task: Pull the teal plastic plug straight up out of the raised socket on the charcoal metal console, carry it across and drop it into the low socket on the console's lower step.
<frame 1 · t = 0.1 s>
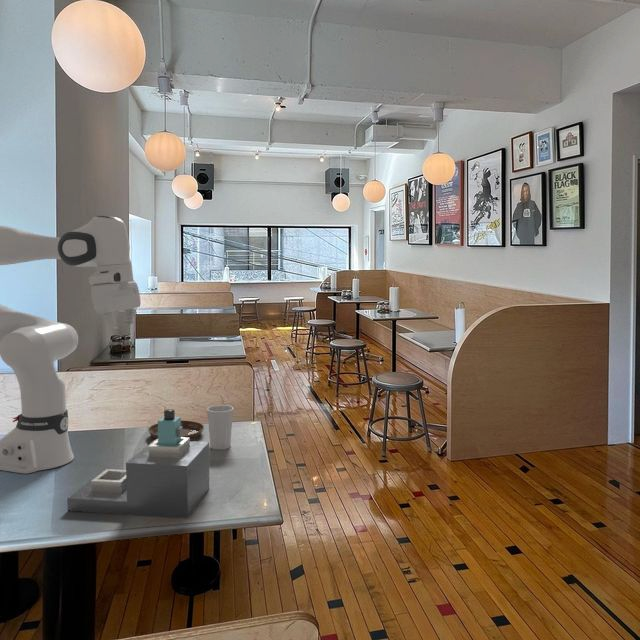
hand: (121, 327, 144), 39 cm above the table, tool pointing down, fingers open, 8 cm apart
cup: (220, 446, 165), on the table
plug: (169, 451, 125), point 12 cm above the table, touching console
plant saucer: (176, 437, 174), on the table
console: (142, 499, 127), on the table
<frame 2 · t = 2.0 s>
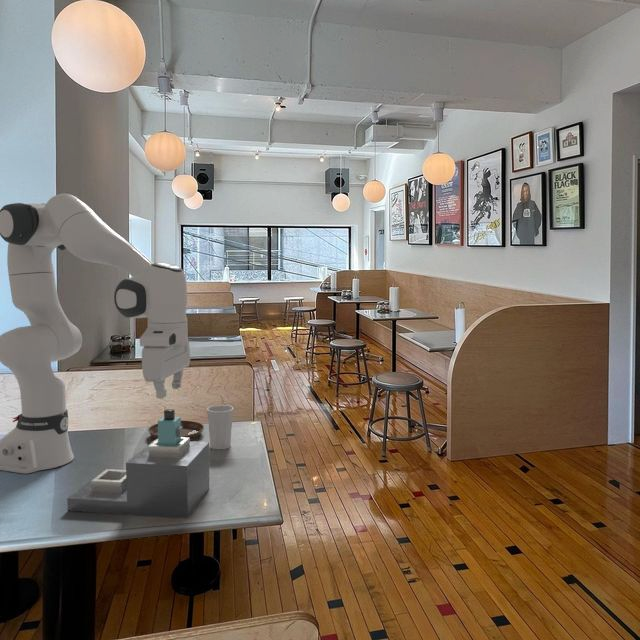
hand: (169, 392, 123), 26 cm above the table, tool pointing down, fingers open, 8 cm apart
nothing on the table moved.
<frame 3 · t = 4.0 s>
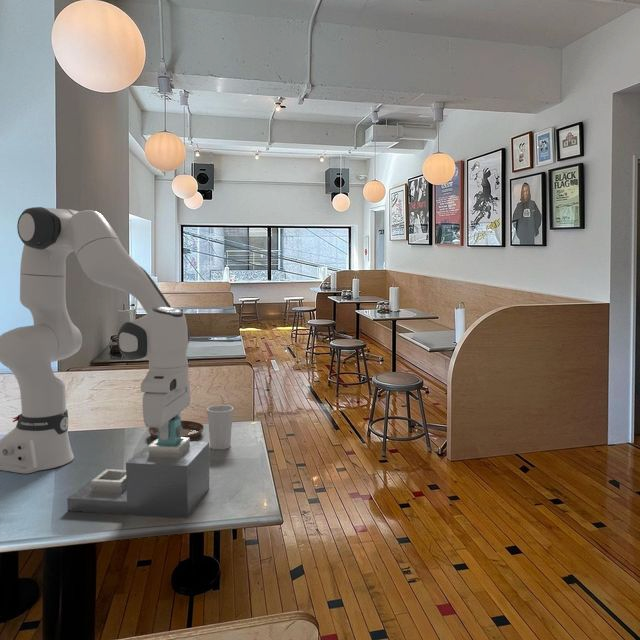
hand: (169, 435, 125), 16 cm above the table, tool pointing down, fingers closed on plug, 4 cm apart
plug: (169, 451, 125), point 12 cm above the table, touching console, gripper
everything else where it was.
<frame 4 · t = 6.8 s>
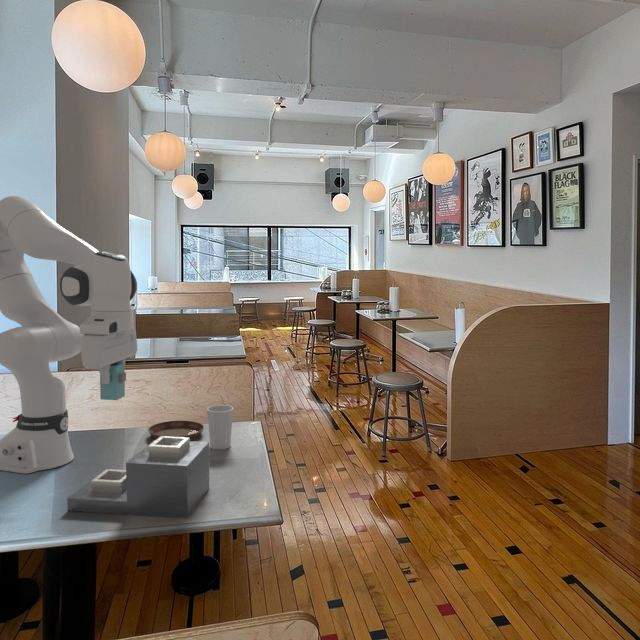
hand: (112, 380, 125), 29 cm above the table, tool pointing down, fingers closed on plug, 4 cm apart
plug: (112, 397, 125), point 24 cm above the table, touching gripper
everything else where it was.
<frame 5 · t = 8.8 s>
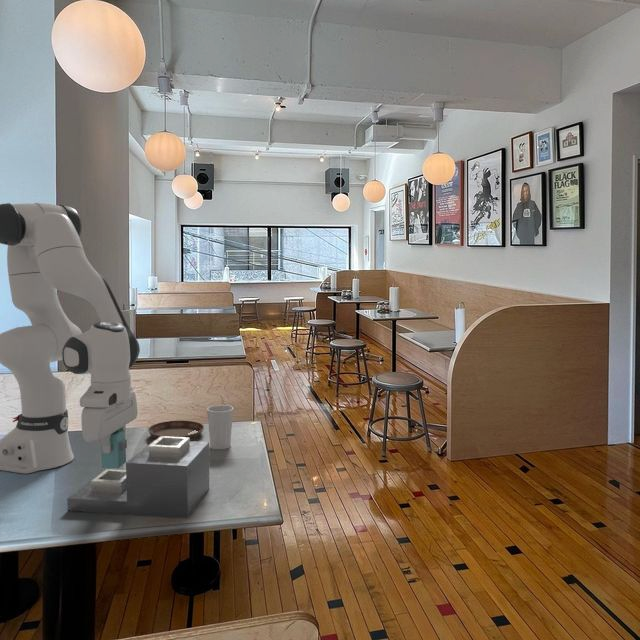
hand: (113, 448, 126), 12 cm above the table, tool pointing down, fingers closed on plug, 4 cm apart
plug: (114, 464, 126), point 8 cm above the table, touching gripper
everything else where it was.
when the fingers open (8 cm above the table, at t = 10.1 s): plug drops 1 cm, resting on console.
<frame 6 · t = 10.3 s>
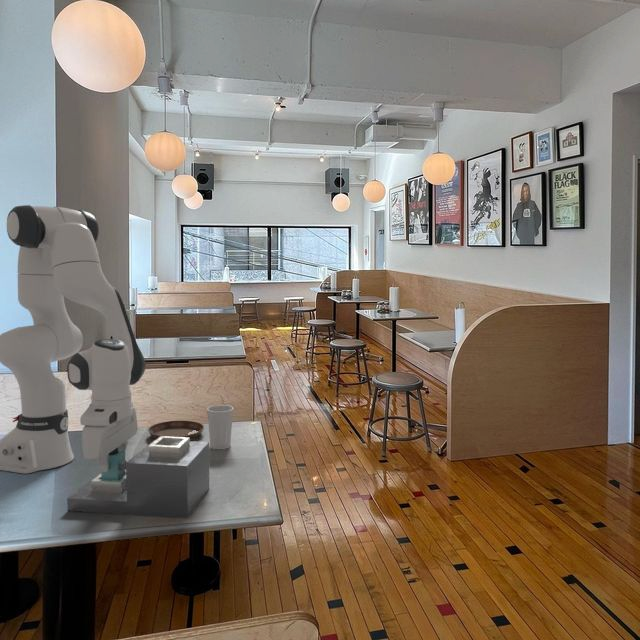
hand: (113, 465, 127), 8 cm above the table, tool pointing down, fingers open, 6 cm apart
plug: (113, 485, 127), point 3 cm above the table, touching console
everything else where it was.
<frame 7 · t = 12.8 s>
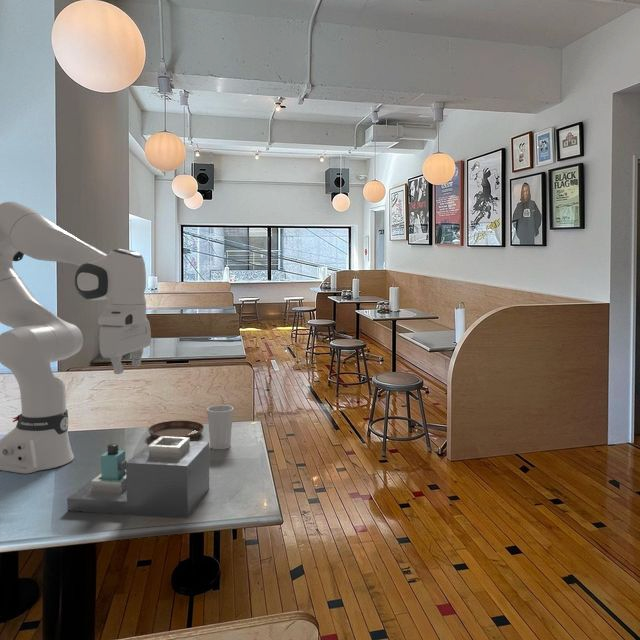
hand: (127, 369, 133), 29 cm above the table, tool pointing down, fingers open, 8 cm apart
nothing on the table moved.
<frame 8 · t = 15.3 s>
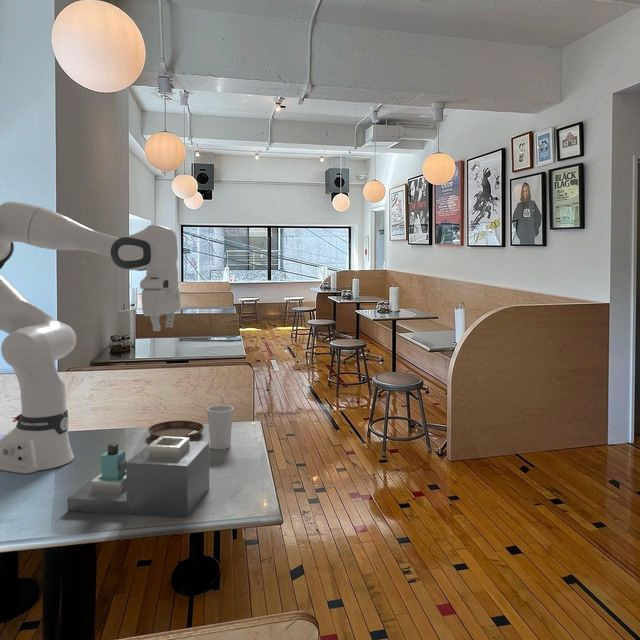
hand: (163, 329, 155), 37 cm above the table, tool pointing down, fingers open, 8 cm apart
nothing on the table moved.
at the end: plug 0.0 cm from the target spot on the console, point 3.0 cm above the console's base; plug tilted 0°; the gripper is holding nothing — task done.
